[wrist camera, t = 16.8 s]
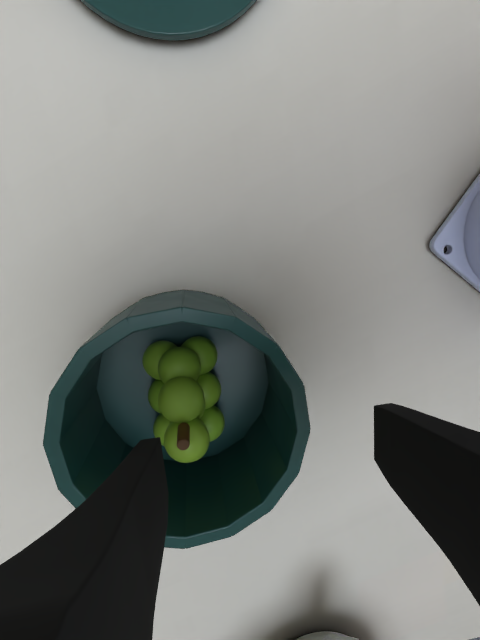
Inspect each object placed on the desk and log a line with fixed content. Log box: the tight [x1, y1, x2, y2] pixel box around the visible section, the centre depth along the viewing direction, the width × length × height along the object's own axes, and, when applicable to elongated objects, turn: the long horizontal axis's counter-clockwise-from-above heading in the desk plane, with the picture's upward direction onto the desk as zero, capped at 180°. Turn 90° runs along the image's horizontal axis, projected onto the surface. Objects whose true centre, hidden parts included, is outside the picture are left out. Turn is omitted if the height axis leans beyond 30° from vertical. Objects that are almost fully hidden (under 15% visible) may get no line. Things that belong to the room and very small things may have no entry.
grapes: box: [142, 336, 225, 463], centre depth 16 cm, size 6×4×6 cm, turn 5°
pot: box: [43, 290, 310, 549], centre depth 17 cm, size 10×10×6 cm
